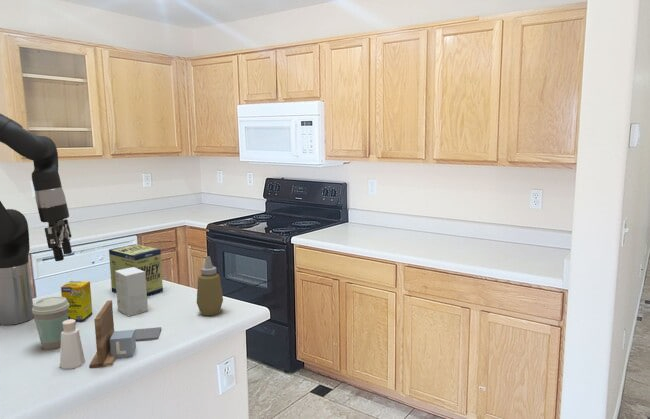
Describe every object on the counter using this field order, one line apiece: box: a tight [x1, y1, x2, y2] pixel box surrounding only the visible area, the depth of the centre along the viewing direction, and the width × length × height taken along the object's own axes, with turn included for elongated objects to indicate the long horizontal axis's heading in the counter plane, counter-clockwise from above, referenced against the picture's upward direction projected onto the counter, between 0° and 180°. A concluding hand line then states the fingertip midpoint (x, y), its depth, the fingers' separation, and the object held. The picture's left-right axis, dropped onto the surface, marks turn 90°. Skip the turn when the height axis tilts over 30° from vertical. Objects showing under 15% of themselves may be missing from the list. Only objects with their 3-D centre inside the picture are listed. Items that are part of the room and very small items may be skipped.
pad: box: [134, 326, 162, 342], centre depth 130 cm, size 7×7×1 cm
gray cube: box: [110, 329, 137, 359], centre depth 119 cm, size 5×5×5 cm
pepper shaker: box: [59, 319, 86, 370], centre depth 113 cm, size 5×5×11 cm
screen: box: [89, 299, 117, 369], centre depth 118 cm, size 5×13×12 cm, turn 13°
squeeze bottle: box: [196, 255, 224, 316], centre depth 145 cm, size 8×8×18 cm
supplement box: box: [60, 280, 93, 323], centre depth 141 cm, size 6×6×11 cm
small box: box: [115, 267, 149, 317], centre depth 147 cm, size 8×6×13 cm
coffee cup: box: [32, 296, 69, 350], centre depth 123 cm, size 8×9×12 cm
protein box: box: [108, 243, 164, 298], centre depth 165 cm, size 10×16×16 cm
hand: (64, 257), depth 140 cm, fingers open, 8 cm apart
